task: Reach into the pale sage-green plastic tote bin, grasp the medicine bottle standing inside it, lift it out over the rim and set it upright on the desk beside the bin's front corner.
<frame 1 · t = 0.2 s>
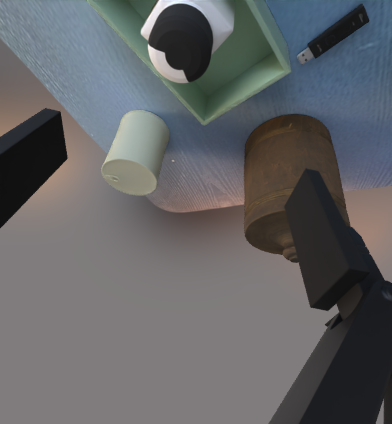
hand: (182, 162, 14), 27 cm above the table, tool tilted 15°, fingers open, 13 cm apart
can: (145, 130, 48), on the table
medicine bottle: (194, 3, 31), resting on bin
wooden container: (285, 147, 47), on the table
bin: (194, 3, 31), on the table
usb flash drive: (329, 35, 32), on the table
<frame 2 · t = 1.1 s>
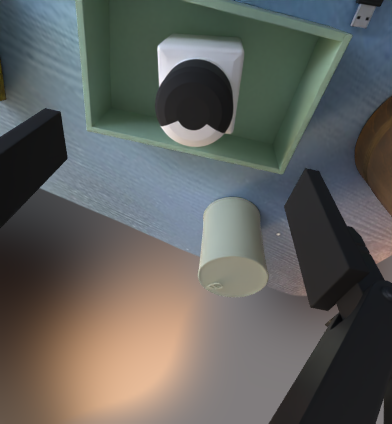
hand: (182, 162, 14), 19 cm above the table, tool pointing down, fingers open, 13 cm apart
can: (231, 218, 42), on the table
medicine bottle: (203, 73, 28), resting on bin
bin: (204, 73, 28), on the table
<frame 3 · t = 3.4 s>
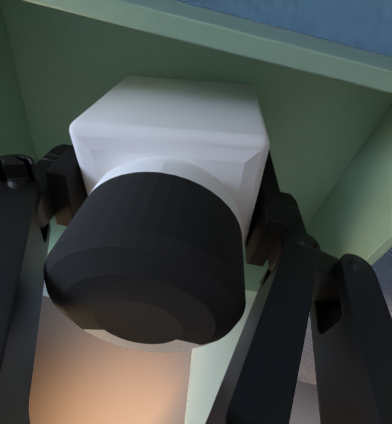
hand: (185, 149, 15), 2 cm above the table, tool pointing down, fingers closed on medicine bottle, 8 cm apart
can: (233, 311, 30), on the table
medicine bottle: (188, 138, 16), resting on bin, touching gripper
bin: (189, 137, 17), on the table
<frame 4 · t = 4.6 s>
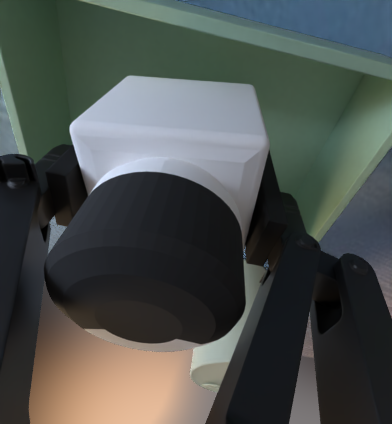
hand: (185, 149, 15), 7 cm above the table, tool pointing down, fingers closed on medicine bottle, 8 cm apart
can: (234, 279, 34), on the table
medicine bottle: (188, 138, 16), point 5 cm above the table, touching gripper
bin: (198, 115, 20), on the table
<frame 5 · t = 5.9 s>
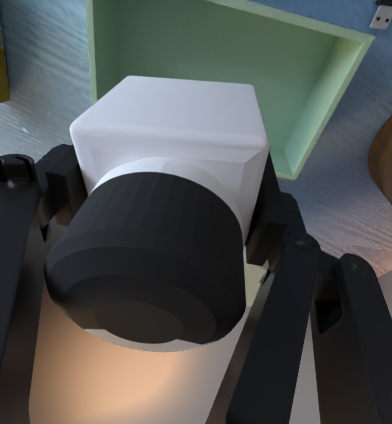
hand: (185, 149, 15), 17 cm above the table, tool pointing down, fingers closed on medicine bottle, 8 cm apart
can: (238, 224, 41), on the table
medicine bottle: (189, 138, 16), point 15 cm above the table, touching gripper
bin: (215, 75, 27), on the table
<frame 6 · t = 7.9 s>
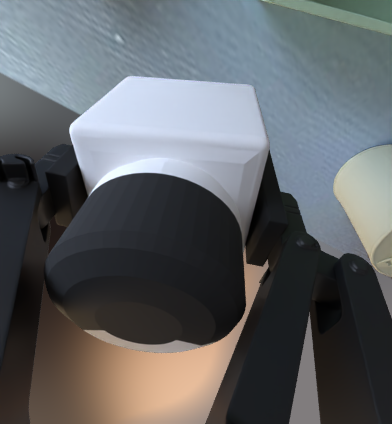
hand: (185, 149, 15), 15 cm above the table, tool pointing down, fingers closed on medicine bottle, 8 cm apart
can: (373, 177, 32), on the table
medicine bottle: (188, 138, 16), point 13 cm above the table, touching gripper
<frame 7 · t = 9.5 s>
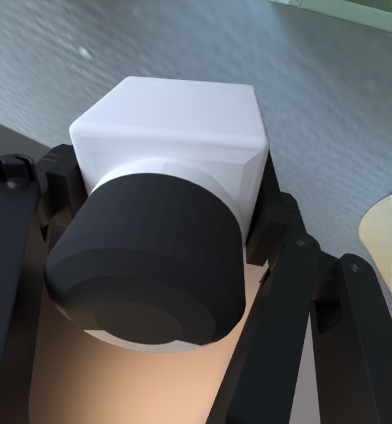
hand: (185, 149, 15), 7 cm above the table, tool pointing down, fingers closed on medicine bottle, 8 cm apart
medicine bottle: (188, 138, 16), point 5 cm above the table, touching gripper
when the fingers open (1 cm above the table, at t = 11.3 s): medicine bottle stays where it is, on the table.
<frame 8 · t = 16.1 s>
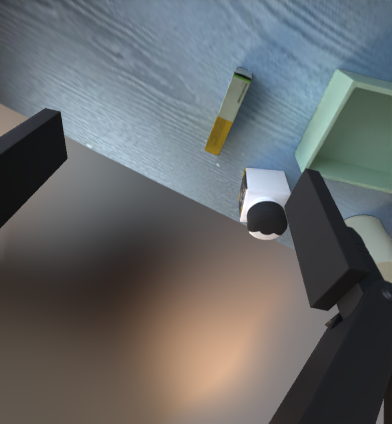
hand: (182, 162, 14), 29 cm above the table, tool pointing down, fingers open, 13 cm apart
can: (356, 230, 54), on the table
medicine bottle: (260, 184, 49), on the table
medication box: (227, 108, 40), on the table
bin: (379, 131, 40), on the table
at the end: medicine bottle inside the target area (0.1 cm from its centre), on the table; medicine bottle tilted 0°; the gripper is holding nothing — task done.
